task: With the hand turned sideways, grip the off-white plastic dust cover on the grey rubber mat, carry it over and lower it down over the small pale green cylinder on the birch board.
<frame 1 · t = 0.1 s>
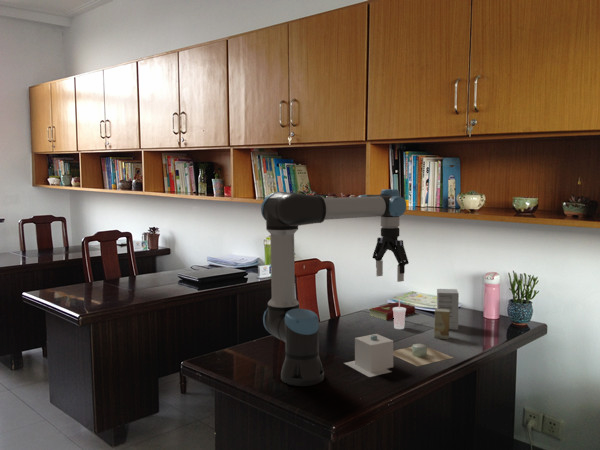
hand: (389, 278, 221), 28 cm above the table, tool pointing down, fingers open, 13 cm apart
supplement box: (447, 327, 248), on the table
grey mat: (373, 366, 199), on the table
birch board: (419, 356, 209), on the table
hardcover book: (392, 315, 271), on the table
pale green cylinder: (419, 354, 209), point 1 cm above the table, touching birch board
dust cover: (373, 365, 199), resting on grey mat
beverage cup: (399, 328, 247), on the table
skincare box: (441, 338, 232), on the table
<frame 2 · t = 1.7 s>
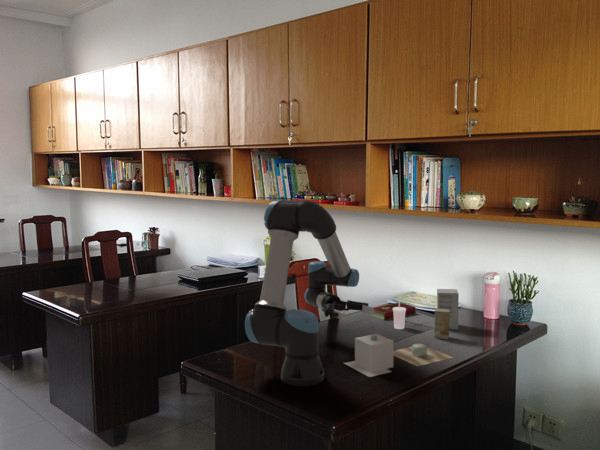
hand: (358, 314, 205), 18 cm above the table, tool horizontal, fingers open, 13 cm apart
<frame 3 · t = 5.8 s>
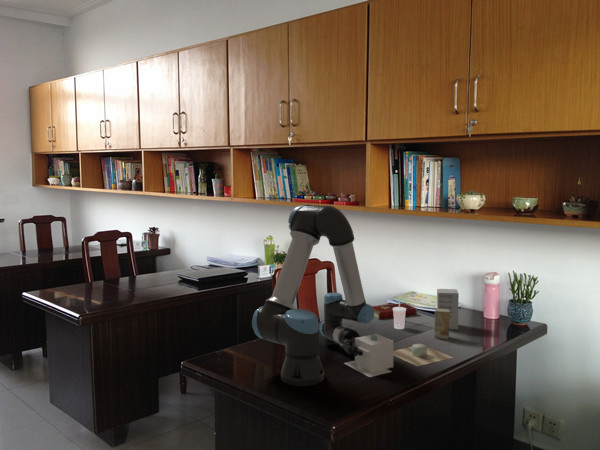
hand: (381, 353, 194), 6 cm above the table, tool horizontal, fingers closed on dust cover, 10 cm apart
dust cover: (373, 365, 199), resting on grey mat, touching gripper
when the fingers open (8 cm above the table, at t = 11.3 s): dust cover drops 1 cm, resting on birch board.
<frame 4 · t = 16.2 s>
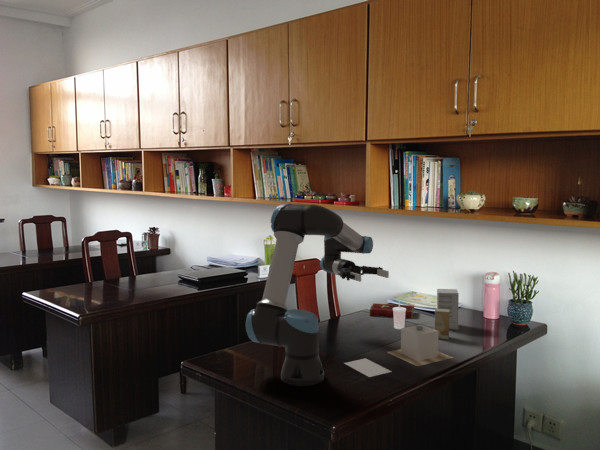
hand: (374, 276, 215), 30 cm above the table, tool horizontal, fingers open, 13 cm apart
dust cover: (419, 354, 209), point 1 cm above the table, touching birch board
at the end: dust cover 0.1 cm from the pale green cylinder (horizontally); dust cover point 0.6 cm above the table; dust cover tilted 0° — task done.
